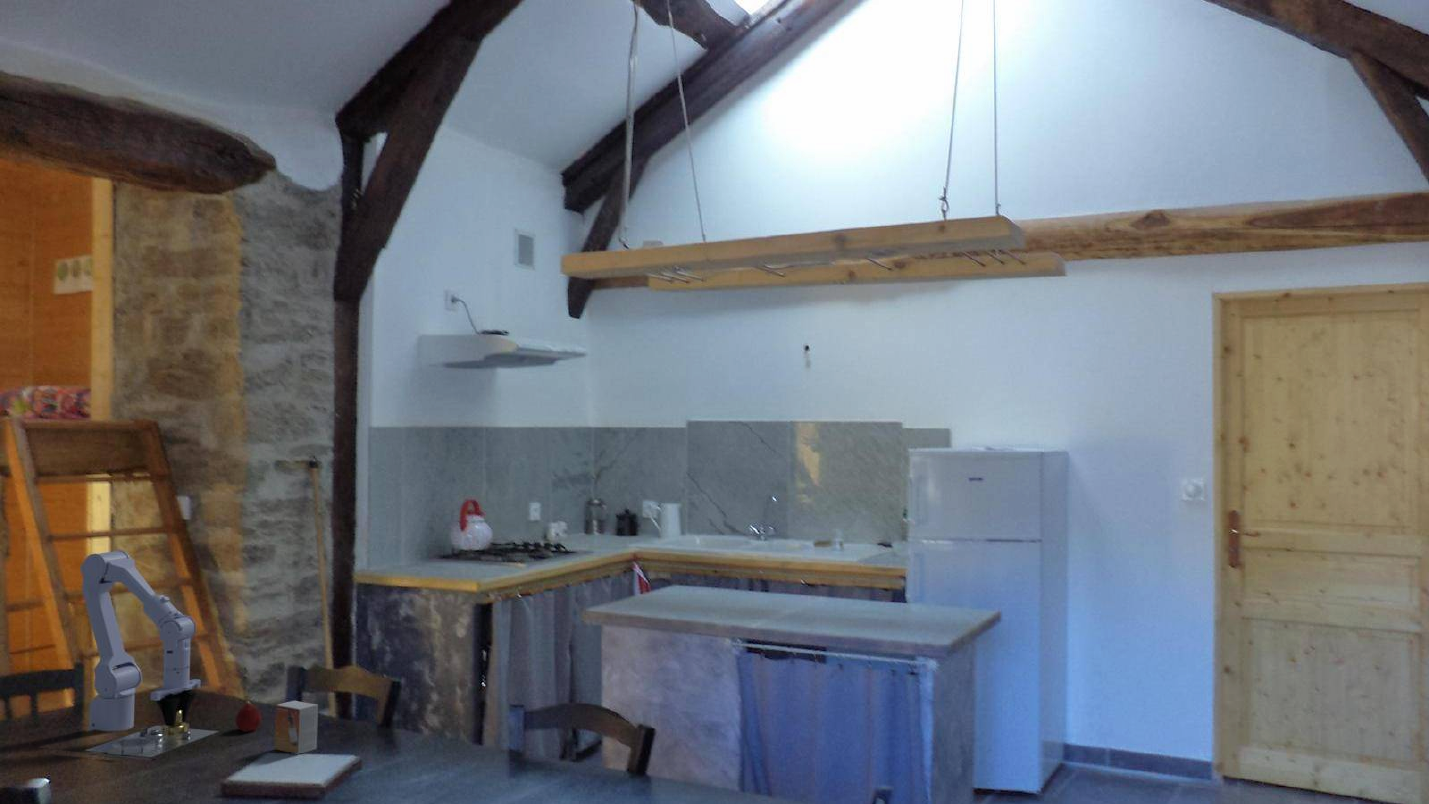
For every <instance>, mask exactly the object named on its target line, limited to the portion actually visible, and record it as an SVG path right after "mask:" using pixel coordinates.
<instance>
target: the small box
mask: <svg viewBox="0 0 1429 804" xmlns="http://www.w3.org/2000/svg"><path fill="white" fill-rule="evenodd" d="M275 707H276V708H275V726H274V727H275V729H274V732H275V733H274V750H277V751H281V752H285V753H289V752H293V753H302V754H305V753H309V752H311V751H314V750H317V747H318V746H317V743H318V719H319V704H316V703H310V702H309V703H308V702H304V701H298V700H291V701H287V702H284V703H278V704H276V705H275ZM293 753H292V754H293Z"/></svg>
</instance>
